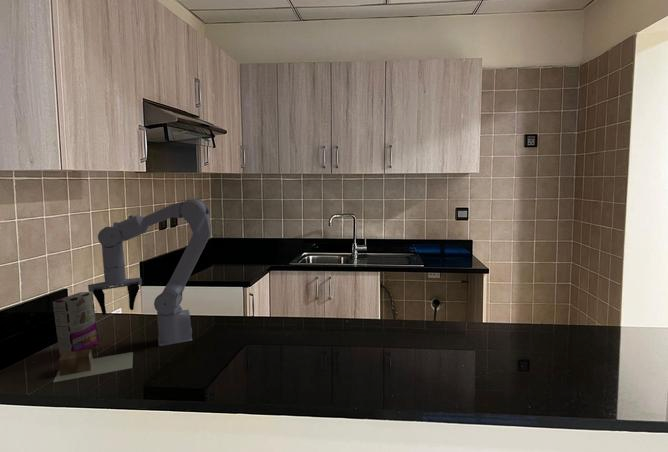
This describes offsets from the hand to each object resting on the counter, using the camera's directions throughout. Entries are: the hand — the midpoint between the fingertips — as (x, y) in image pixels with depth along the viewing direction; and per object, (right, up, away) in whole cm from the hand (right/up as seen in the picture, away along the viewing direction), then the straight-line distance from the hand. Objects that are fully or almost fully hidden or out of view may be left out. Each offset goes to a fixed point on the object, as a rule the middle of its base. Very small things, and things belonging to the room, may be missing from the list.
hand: (118, 311), depth 144 cm
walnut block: (0, -10, -17) cm, 19 cm away
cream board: (+1, -12, -16) cm, 20 cm away
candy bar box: (-11, -12, -1) cm, 16 cm away
